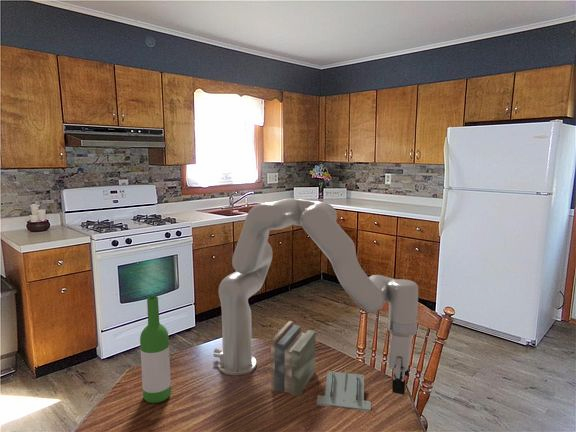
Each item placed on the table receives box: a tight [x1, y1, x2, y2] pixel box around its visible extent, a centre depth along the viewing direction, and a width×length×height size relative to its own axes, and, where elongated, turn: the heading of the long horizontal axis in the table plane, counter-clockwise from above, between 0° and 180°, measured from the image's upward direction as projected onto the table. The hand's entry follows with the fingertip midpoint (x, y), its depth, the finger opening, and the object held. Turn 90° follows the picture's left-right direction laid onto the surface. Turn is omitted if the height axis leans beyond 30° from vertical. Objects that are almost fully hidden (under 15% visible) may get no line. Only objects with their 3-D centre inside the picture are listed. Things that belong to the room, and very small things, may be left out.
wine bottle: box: [139, 295, 172, 404], centre depth 115 cm, size 8×8×30 cm
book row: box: [270, 320, 317, 398], centre depth 124 cm, size 9×14×16 cm, turn 158°
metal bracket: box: [316, 369, 372, 412], centre depth 118 cm, size 14×6×15 cm
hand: (400, 383), depth 112 cm, fingers open, 9 cm apart
